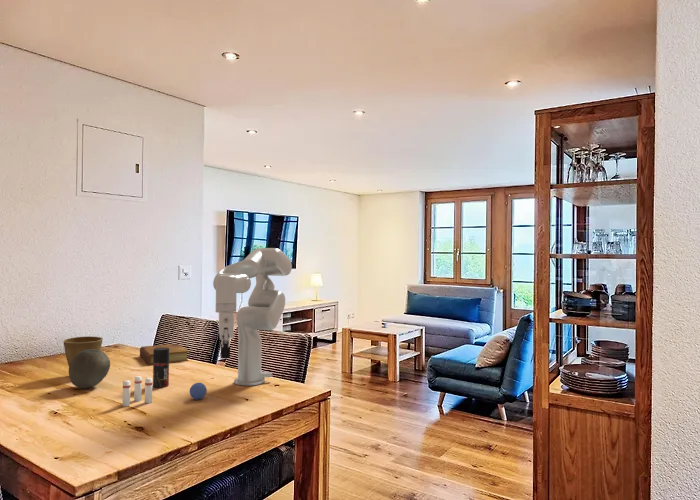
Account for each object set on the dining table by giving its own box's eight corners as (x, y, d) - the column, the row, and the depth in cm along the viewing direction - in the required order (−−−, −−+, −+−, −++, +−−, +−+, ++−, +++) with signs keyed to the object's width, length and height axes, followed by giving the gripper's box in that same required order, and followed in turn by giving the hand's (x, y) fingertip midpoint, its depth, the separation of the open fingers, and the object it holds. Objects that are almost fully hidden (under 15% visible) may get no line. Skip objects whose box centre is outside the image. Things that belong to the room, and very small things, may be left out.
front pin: (152, 401, 175) (152, 377, 175) (151, 403, 173) (152, 379, 173) (145, 401, 175) (145, 378, 175) (144, 403, 172) (144, 379, 172)
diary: (139, 357, 251) (139, 346, 251) (176, 354, 261) (177, 343, 261) (148, 366, 232) (148, 354, 232) (188, 362, 242) (188, 350, 242)
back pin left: (130, 404, 171) (131, 380, 172) (129, 406, 169) (129, 381, 169) (122, 404, 171) (123, 380, 171) (121, 406, 168) (122, 382, 168)
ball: (206, 396, 182) (206, 380, 182) (206, 401, 176) (206, 384, 176) (189, 397, 180) (190, 381, 180) (189, 402, 175) (189, 385, 175)
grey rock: (81, 394, 182) (81, 354, 182) (61, 388, 190) (62, 350, 190) (116, 386, 194) (117, 348, 194) (96, 381, 202) (97, 345, 202)
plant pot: (54, 378, 205) (55, 340, 205) (85, 370, 219) (86, 335, 219) (79, 382, 200) (80, 343, 200) (109, 374, 213) (110, 337, 214)
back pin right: (142, 399, 178) (142, 375, 178) (141, 401, 175) (141, 377, 175) (134, 399, 177) (135, 376, 177) (133, 401, 174) (133, 377, 175)
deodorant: (163, 388, 192) (163, 350, 192) (149, 387, 193) (150, 349, 193) (171, 384, 198) (172, 347, 198) (158, 383, 199) (159, 347, 199)
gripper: (237, 310, 174) (236, 360, 174) (235, 305, 191) (234, 351, 190) (215, 310, 172) (214, 361, 172) (215, 305, 189) (214, 352, 188)
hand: (225, 355), depth 181 cm, fingers open, 5 cm apart
